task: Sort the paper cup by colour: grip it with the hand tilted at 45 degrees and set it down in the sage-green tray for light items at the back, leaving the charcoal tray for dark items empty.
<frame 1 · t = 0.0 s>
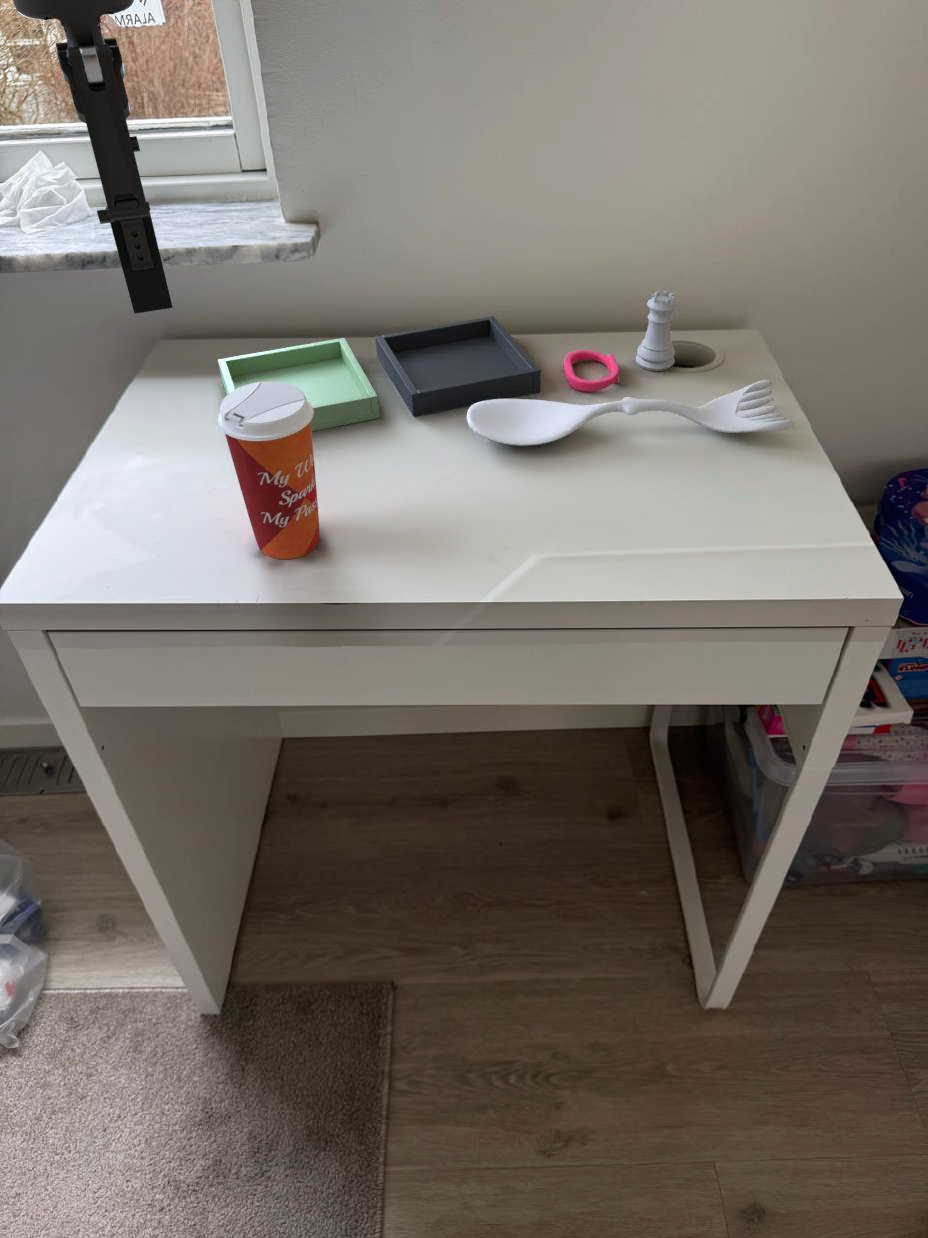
hand: (144, 274, 73), 23 cm above the table, tool pointing down, fingers open, 13 cm apart
paper cup: (289, 541, 85), on the table
sage tray: (298, 398, 104), on the table
spoon: (622, 432, 98), on the table
fitness band: (590, 377, 106), on the table
charcoal tray: (456, 373, 107), on the table
rook chess piece: (654, 364, 108), on the table
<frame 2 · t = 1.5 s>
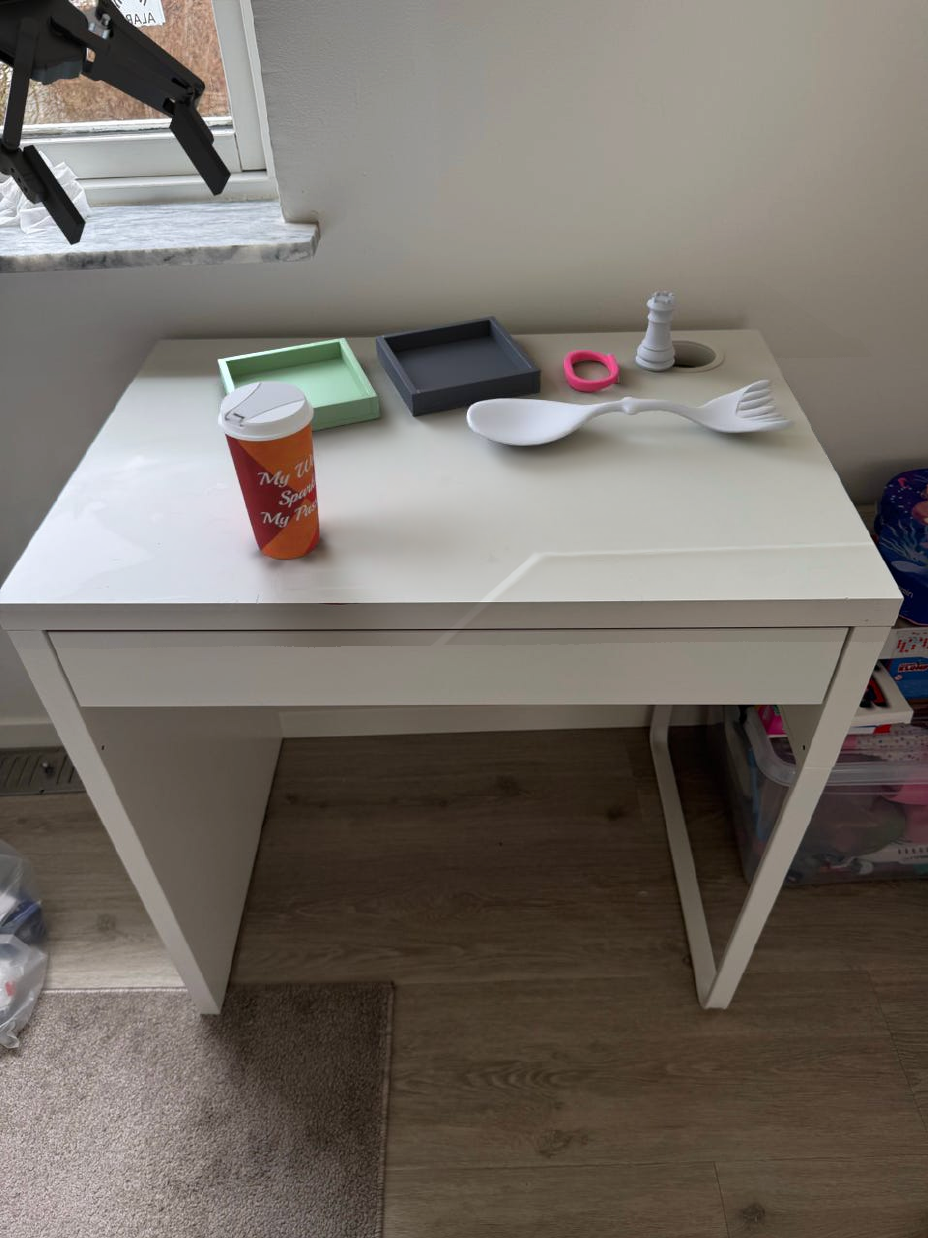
hand: (154, 208, 75), 26 cm above the table, tool tilted 45°, fingers open, 13 cm apart
nothing on the table moved.
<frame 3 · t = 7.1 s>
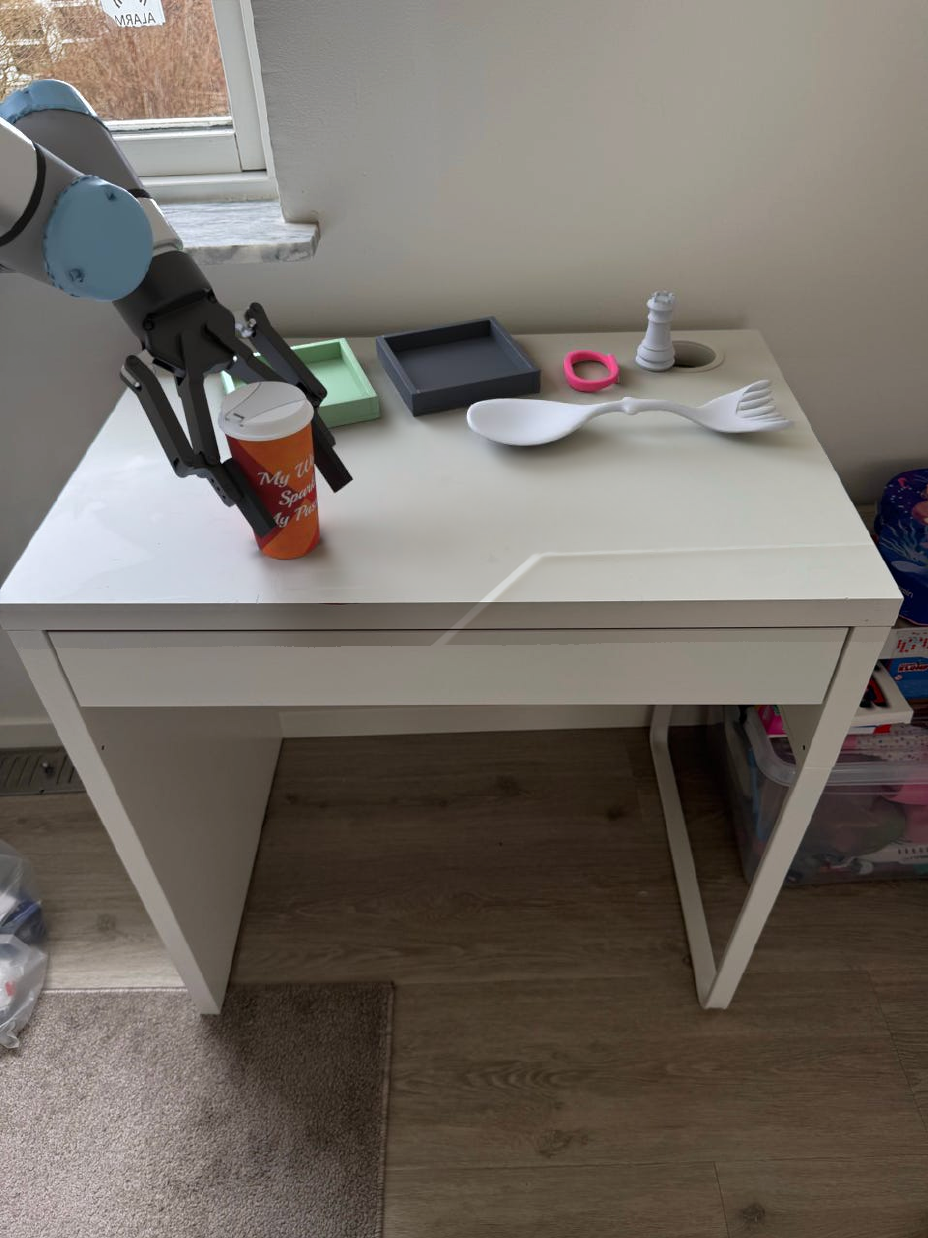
hand: (307, 508, 80), 5 cm above the table, tool tilted 45°, fingers closed on paper cup, 8 cm apart
paper cup: (289, 541, 85), on the table, touching gripper
everything else where it was.
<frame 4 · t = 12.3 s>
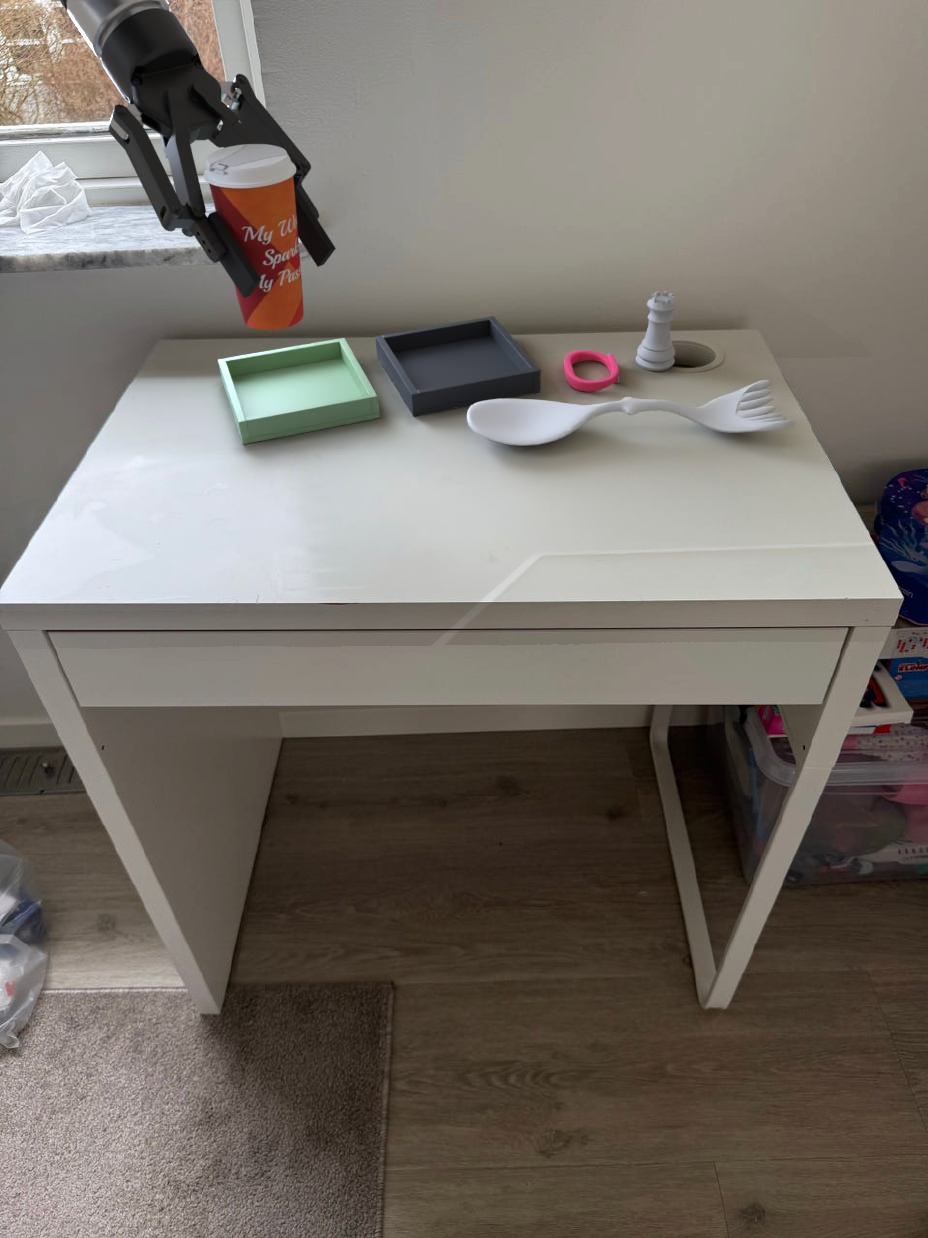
hand: (290, 272, 83), 19 cm above the table, tool tilted 45°, fingers closed on paper cup, 8 cm apart
paper cup: (274, 318, 88), point 14 cm above the table, touching gripper
everything else where it was.
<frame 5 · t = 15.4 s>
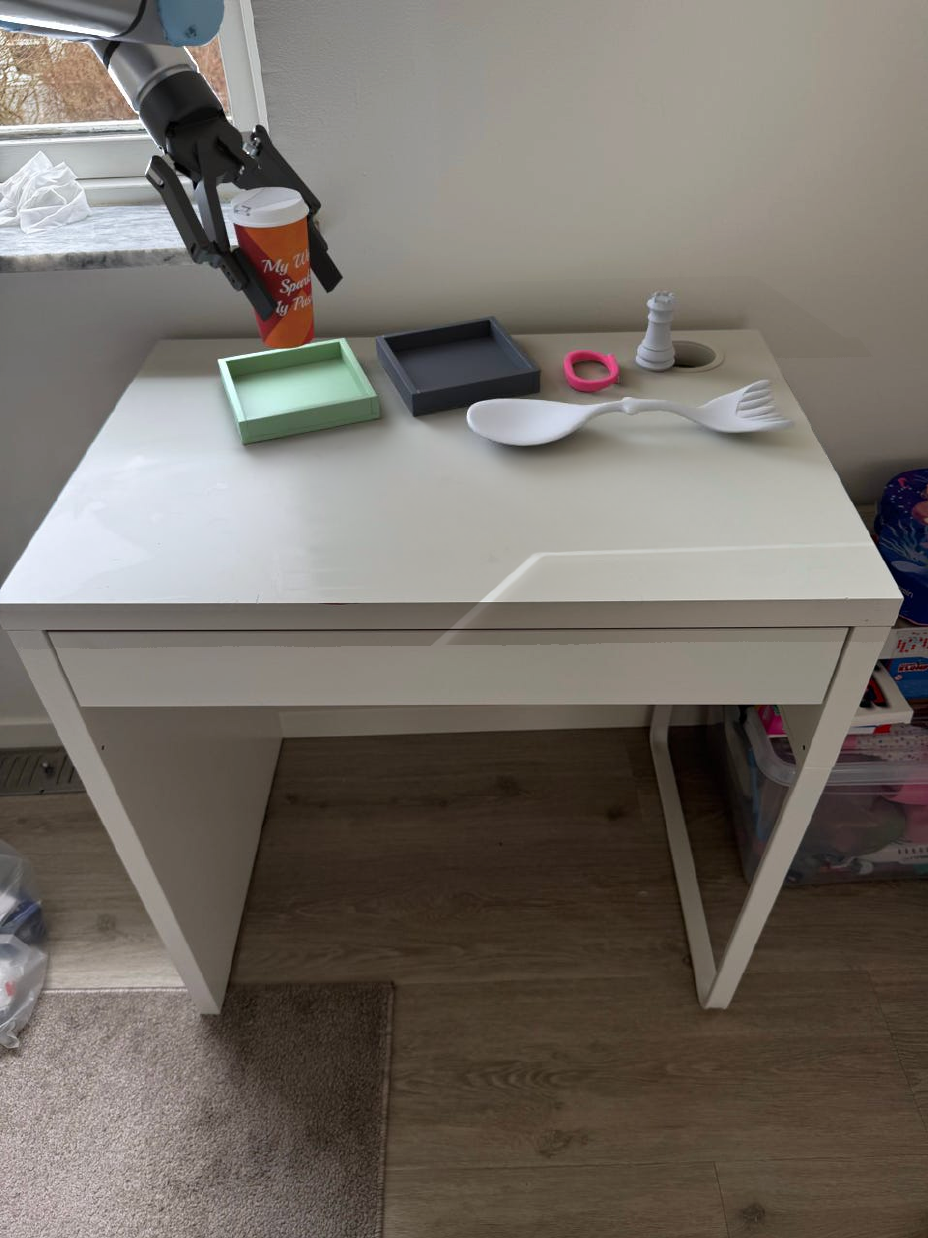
hand: (303, 298, 94), 12 cm above the table, tool tilted 45°, fingers closed on paper cup, 8 cm apart
paper cup: (288, 338, 99), point 7 cm above the table, touching gripper
everything else where it was.
when the fingers open (6 cm above the table, at t = 17.7 s): paper cup stays where it is, resting on sage tray.
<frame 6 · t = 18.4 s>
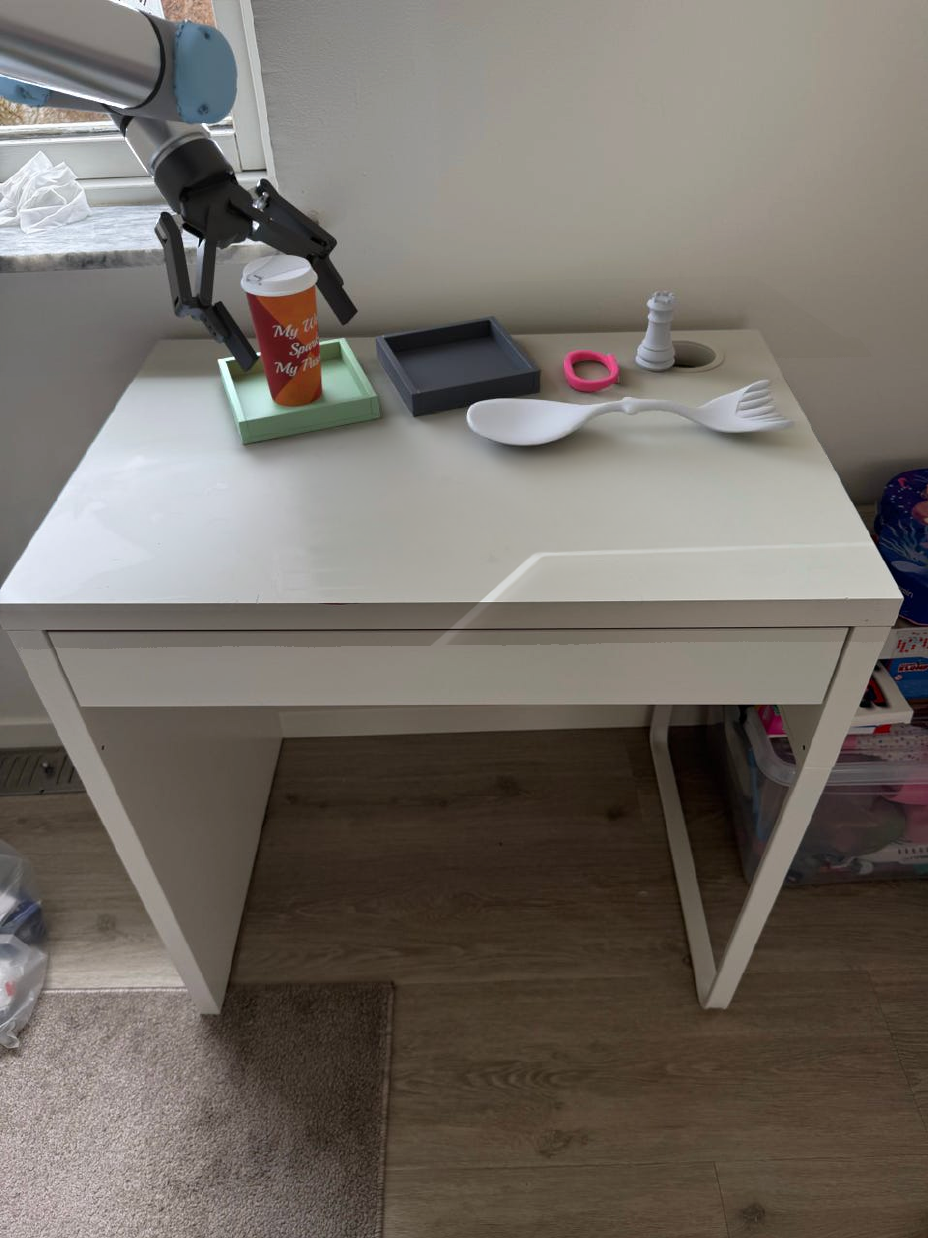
hand: (303, 341, 98), 7 cm above the table, tool tilted 45°, fingers open, 13 cm apart
paper cup: (297, 395, 104), resting on sage tray
everything else where it was.
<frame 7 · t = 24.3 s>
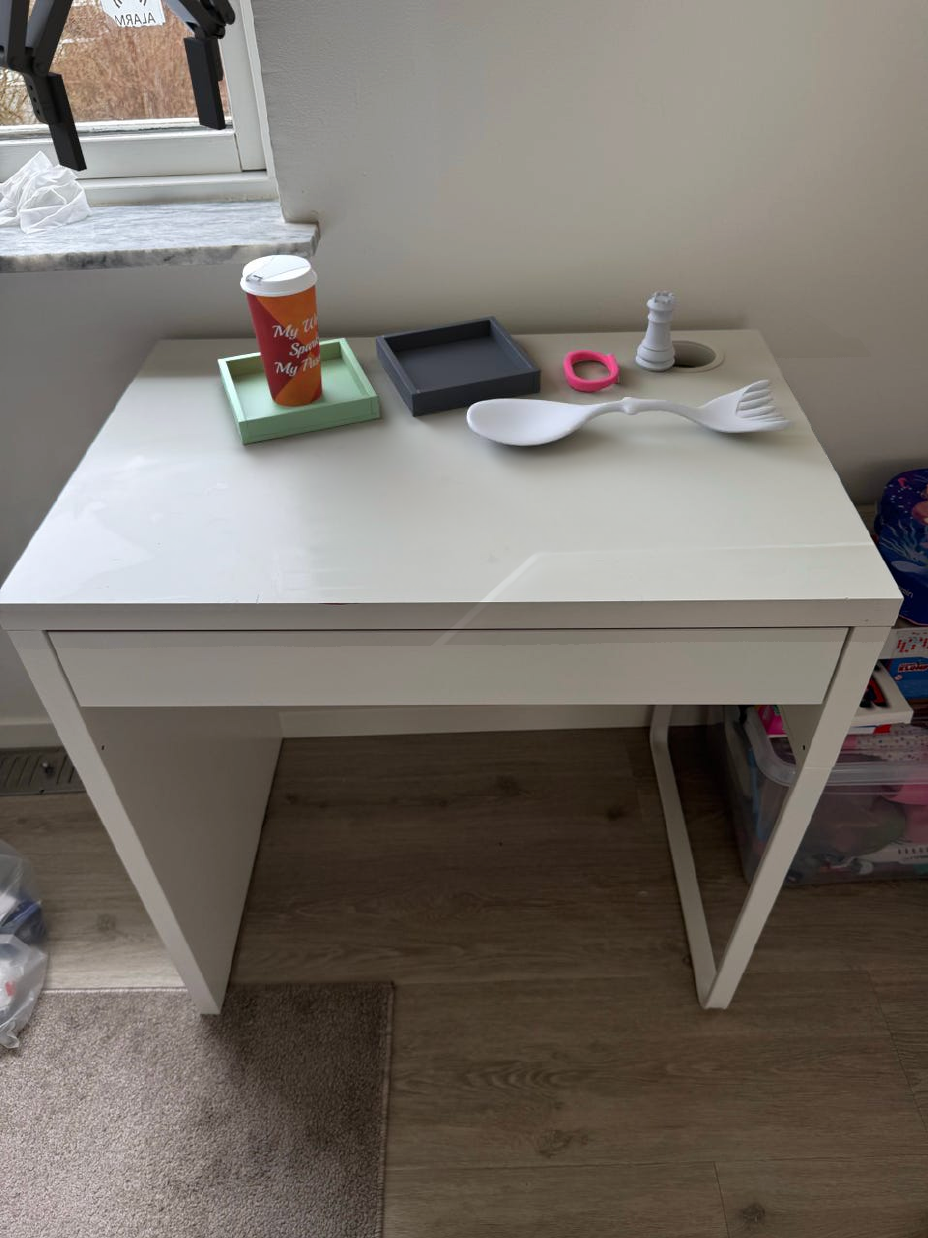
hand: (146, 146, 77), 29 cm above the table, tool pointing down, fingers open, 13 cm apart
nothing on the table moved.
at the end: paper cup inside the target area in the sage tray (0.0 cm from its centre), point 0.4 cm above the sage tray's base; paper cup tilted 0°; the gripper is holding nothing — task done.
